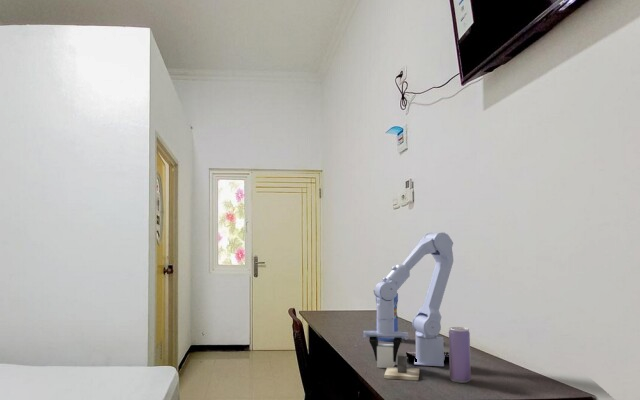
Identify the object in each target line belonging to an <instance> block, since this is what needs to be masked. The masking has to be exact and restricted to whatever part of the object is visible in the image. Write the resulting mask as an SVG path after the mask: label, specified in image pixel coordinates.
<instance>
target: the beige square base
mask: <svg viewBox="0 0 640 400" xmlns="http://www.w3.org/2000/svg"><path fill="white" fill-rule="evenodd" d="M407 356H408V355H407V354H406V353H397V366H394V367H387V368H385V372H384V375H383V376H384V377H383V378H384V379H389V380H390V379H392V380H405V381H407V380H408V381H419V380H420V368H416V367H415V368H414V367H413V368H412V367H408V365H407V363H408V362H407V361H408V360H407V359H408V357H407Z"/></svg>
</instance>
